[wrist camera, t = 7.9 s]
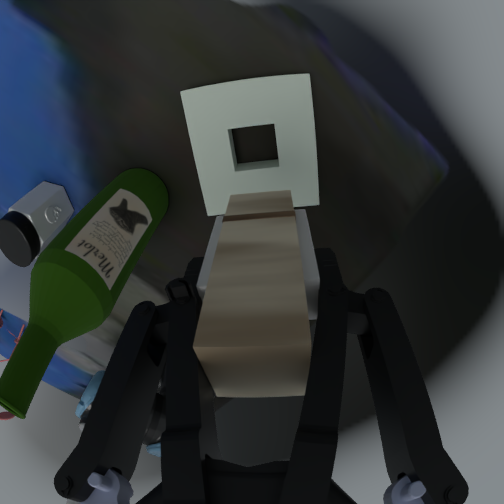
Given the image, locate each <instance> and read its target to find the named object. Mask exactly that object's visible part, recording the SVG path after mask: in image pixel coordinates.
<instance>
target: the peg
mask: <svg viewBox="0 0 504 504" xmlns="http://www.w3.org/2000/svg"><path fill="white" fill-rule="evenodd" d="M222 223H223V224H222V228H221V232H220V236H219V240H218V243H217V247H216V251H215V255H214V259H213V263H212V267H211V271H210V275H209V279H208V283H207V287H206V291H205V296H204V300H203V304H202V308H201V312H200V317H199V321H198V325H197V330H196V334H195V338H194V343H193V349H194V351H195V353H196V355H197V357H198V359H199V361H200V363H201V365H202V367H203V369H204V371H205V374H206V376H207V378H208V380H209V382H210V383H211V385H212V387H213V389H214V391H215V393H216V395H217V397H282V396H300V395H305V391H306V385H307V380H308V374H309V368H310V357H311V335H310V326H309V317H308V308H307V300H306V292H305V284H304V276H303V269H302V261H301V254H300V247H299V240H298V233H297V227H296V214H295V210H294V208H293V201H292V195H291V190H282V191H269V192H257V193H246V194H236V195H230V198H229V202H228V206H227V209H226V213H225V216H223V220H222Z"/></svg>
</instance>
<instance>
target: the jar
mask: <svg viewBox="0 0 504 504" xmlns="http://www.w3.org/2000/svg"><path fill="white" fill-rule="evenodd" d="M73 212H74V209H73V207H72V205H71V203H70V200H69V198H68V196H67V194H66V191H65V189H64V187H63V186H59V185H56V184H52V183H49V182H45V181H43V182H42V183H40V184H39V185H38V186H36V187H35V188H34V189H32V190H31V191H30V192H29V193H27V194H26V195H25V196H23V197H22V198H21V199H20V200H18V201H17V202H16V203H15V204H14V205H12V206H11V207H10V208H9V211H8V213H7V214H6V215H5V216H4V217H2V218H1V219H0V249H1V250H2V252H3V253H4V255H5V256H6V257H7V258H8V259H9V260H10V261H11V262H13V263H14V264H16V265H18V266H20V267H26V266H28V265H30V263H31V262H32V261H33V260H34V259H36V258H37V257H38V256H39V255H40V254H41V252H42V251H43V250H44V249H45V248H46V247H47V246H48V244H49V243H50V242H51V241H52V240H53V239H54V238H55V237H56V236H57V234H58V233H59V232H60V231H61V230H62V229H63V228H64V227H65V226H66V224H67V222H68V220H69V219H70V217H71V215H72V214H73Z"/></svg>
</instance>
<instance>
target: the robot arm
mask: <svg viewBox="0 0 504 504" xmlns="http://www.w3.org/2000/svg"><path fill="white" fill-rule="evenodd" d="M295 214H296V227H297V233H298V240H299V247H300V254H301V261H302V269H303V276H304V284H305V292H306V300H307V308H308V317H309V320H313V319H317V322H316V329H315V337H314V343H313V350H312V356H311V362H310V368H309V374H308V380H307V385H306V391H305V396H304V401H303V406H302V411H301V416H300V421H299V426H298V429H297V432H296V436H295V440H294V444H293V449H292V453H291V457H290V461H274V462H270V463H265V464H261V465H256V466H252V467H244V466H241V465H237V464H233V463H230V462H227V461H224V460H222V455H221V452H220V449H219V445H218V439H217V430H216V421H215V411H214V402H213V398H214V396H215V395H216V393H215V391H214V389H213V387H212V385H211V383H210V382H209V380H208V378H207V376H206V374H205V371H204V369H203V367H202V365H201V363H200V361H199V359H198V357H197V355H196V353H195V351H194V349H193V343H194V338H195V334H196V330H197V325H198V321H199V317H200V312H201V308H202V304H203V300H204V296H205V291H206V287H207V283H208V279H209V275H210V271H211V267H212V263H213V259H214V255H215V251H216V247H217V243H218V240H219V236H220V232H221V228H222V224H223V223H222V220H223V216H217V218H216V221H215V224H214V227H213V231H212V234H211V237H210V240H209V244H208V247H207V250H206V254H205V257H197V258H193V259H192V260H191V261H190V262H189V263H188V266H187V269H186V272H185V276H184V278H177V279H174V280H172V281H171V282H169V283H168V284H167V285H166V288H165V290H166V293H167V295H168V298H169V300H170V302H169V303H166V304H163V305H159V306H155V304H154V303H153V302H151V301H143V302H141V303H139V304H137V305H136V306H135V307H134V308H133V310H132V312H131V314H130V316H129V318H128V321H127V323H126V325H125V327H124V329H123V331H122V334H121V336H120V338H119V340H118V343H117V345H116V347H115V349H114V352H113V354H112V356H111V359H110V361H109V363H108V366H107V368H106V371H104V370H101V371H98V372H97V373H96V374H95V375H94V376H93V378H92V379H91V381H90V383H89V384H88V386H87V388H86V390H85V392H84V393H83V395H82V397H81V400H80V402H79V404H78V406H77V408H76V412H75V414H76V415H77V416H78V418H81V420H80V423H79V428H80V430H81V432H82V434H81V437H80V440H79V443H78V445H77V446H76V448H75V449H74V450H73V452H72V453H71V454H70V456H69V457H68V458H67V460H66V461H65V462H64V464H63V465H62V466H61V468H60V469H59V471H58V472H57V474H56V475H55V478H54V485H55V489H56V491H57V492H58V494H59V495H61V496H62V497H64V498H67V504H129V500H130V497H132V496H133V490H132V488H131V484H130V483H129V480H130V479H131V477H132V475H133V472H134V470H135V467H136V464H137V461H138V457H139V453H140V449H141V445H142V443H143V444H146V445H147V446H146V449H147V452H148V453H150V454H153V455H155V456H158V457H161V472H162V482H161V483H160V484H159V485H158V486H157V487H155V488H154V489H153V490H152V491H150V492H149V493H148V494H147V495H146V496H144V497H143V498H142V499H141V500H139V501H138V502H137V503H136V504H357V503H356V502H355V501H354V500H353V499H352V498H351V497H350V496H348V495H347V494H346V493H345V492H344V491H343V490H342V489H341V488H340V487H339V486H338V485H337V484H336V483H335V482H334V481H333V480H332V479H331V477H332V471H333V466H334V460H335V455H336V449H337V442H338V424H339V417H340V408H341V401H342V391H343V381H344V369H345V357H346V341H347V333H353V334H357V337H358V340H359V344H360V348H361V351H362V355H363V359H364V363H365V367H366V371H367V375H368V379H369V383H370V387H371V392H372V396H373V401H374V406H375V410H376V415H377V420H378V425H379V430H380V435H381V440H382V446H383V452H384V458H385V463H386V467H387V472H388V475H389V478H390V480H391V483H392V484H391V485H390V486H389V487H388V488H387V489H386V491H385V494H384V498H383V500H384V504H463V503H464V502H465V501H466V498H467V496H468V489H469V488H468V485H467V482H466V481H465V479H464V478H463V476H462V475H461V473H460V472H459V470H458V469H457V467H456V466H455V464H454V463H453V461H452V460H451V458H450V457H449V456H448V454H447V452H446V451H445V450H444V448H443V446H442V441H441V438H440V433H439V429H438V426H437V422H436V419H435V415H434V412H433V409H432V405H431V402H430V398H429V395H428V392H427V389H426V386H425V383H424V380H423V377H422V374H421V371H420V368H419V366H418V363H417V360H416V357H415V354H414V352H413V349H412V347H411V344H410V342H409V339H408V336H407V334H406V331H405V329H404V326H403V324H402V321H401V319H400V316H399V314H398V312H397V309H396V307H395V305H394V303H393V300H392V298H391V296H390V294H389V293H388V292H387V291H386V290H384V289H381V288H372V289H369V290H368V291H366V293H365V294H360V293H355V292H352V291H350V290H348V289H347V287H346V286H345V285H344V284H343V281H342V277H341V274H340V270H339V267H338V263H337V260H336V256H335V253H334V252H333V251H332V250H331V249H330V248H319V249H314V247H313V243H312V238H311V233H310V229H309V224H308V220H307V215H306V211H305V209H299V210H295ZM224 216H225V215H224ZM159 381H160V382H161V390H160V394H159V393H156V391H157V388H158V385H159Z"/></svg>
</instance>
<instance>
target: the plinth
mask: <svg viewBox="0 0 504 504" xmlns="http://www.w3.org/2000/svg"><path fill="white" fill-rule="evenodd" d="M181 97H182V102H183V107H184V112H185V117H186V122H187V126H188V131H189V136H190V140H191V145H192V149H193V154H194V158H195V163H196V167H197V172H198V176H199V180H200V185H201V189H202V193H203V197H204V202H205V206H206V210H207V214H208V216H212V215H221V214H225V213H226V209H227V206H228V202H229V198H230V195H236V194H246V193H257V192H269V191H282V190H291V195H292V201H293V207H300V206H312V205H319V187H318V167H317V151H316V137H315V124H314V113H313V102H312V92H311V83H310V75H309V74H290V75H278V76H268V77H259V78H251V79H243V80H236V81H230V82H224V83H218V84H213V85H207V86H202V87H198V88H193V89H188V90H184V91H181ZM265 124H274V126H275V134H276V142H277V150H278V159H275V160H266V161H257V162H248V163H240V164H237V159H236V154H235V148H234V142H233V136H232V130H231V129H233V128H240V127H248V126H256V125H265Z"/></svg>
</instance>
